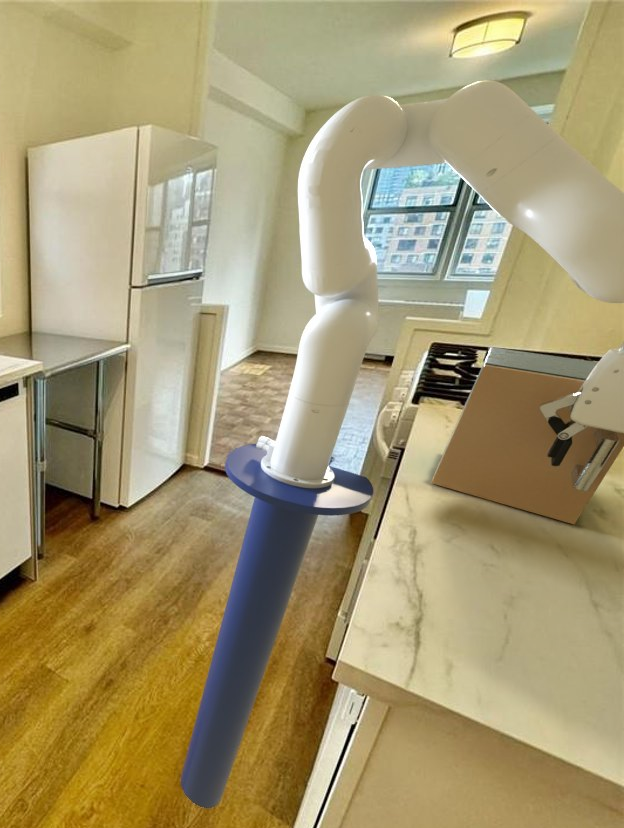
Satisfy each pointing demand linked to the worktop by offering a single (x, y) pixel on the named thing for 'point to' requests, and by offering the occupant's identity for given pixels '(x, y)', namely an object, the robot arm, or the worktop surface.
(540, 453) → the fridge door
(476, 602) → the worktop surface
